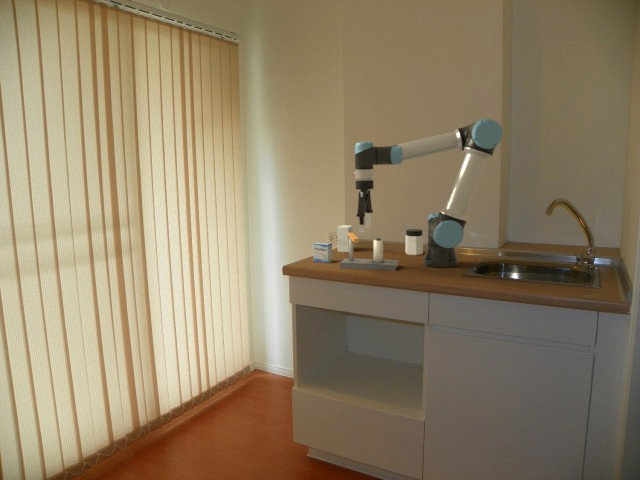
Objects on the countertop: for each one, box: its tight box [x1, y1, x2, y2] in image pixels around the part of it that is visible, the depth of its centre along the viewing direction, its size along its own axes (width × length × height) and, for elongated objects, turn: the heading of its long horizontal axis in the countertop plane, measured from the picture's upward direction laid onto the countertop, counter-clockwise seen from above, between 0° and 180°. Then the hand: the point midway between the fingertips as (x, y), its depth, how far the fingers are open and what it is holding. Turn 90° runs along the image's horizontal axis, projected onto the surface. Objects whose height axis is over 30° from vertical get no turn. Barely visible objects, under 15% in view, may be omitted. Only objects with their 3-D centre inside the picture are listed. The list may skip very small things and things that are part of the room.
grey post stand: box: [339, 237, 399, 272], centre depth 215 cm, size 24×10×14 cm, turn 74°
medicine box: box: [312, 242, 333, 264], centre depth 232 cm, size 8×4×9 cm, turn 62°
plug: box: [372, 237, 384, 263], centre depth 214 cm, size 4×4×13 cm
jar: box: [404, 228, 424, 256], centre depth 247 cm, size 9×8×12 cm
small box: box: [336, 224, 354, 253], centre depth 259 cm, size 8×6×13 cm
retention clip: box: [348, 232, 359, 244], centre depth 209 cm, size 17×3×2 cm, turn 4°
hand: (365, 230), depth 208 cm, fingers open, 13 cm apart
